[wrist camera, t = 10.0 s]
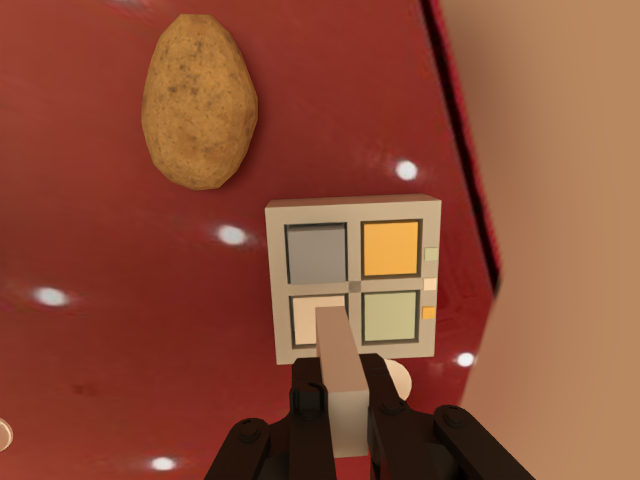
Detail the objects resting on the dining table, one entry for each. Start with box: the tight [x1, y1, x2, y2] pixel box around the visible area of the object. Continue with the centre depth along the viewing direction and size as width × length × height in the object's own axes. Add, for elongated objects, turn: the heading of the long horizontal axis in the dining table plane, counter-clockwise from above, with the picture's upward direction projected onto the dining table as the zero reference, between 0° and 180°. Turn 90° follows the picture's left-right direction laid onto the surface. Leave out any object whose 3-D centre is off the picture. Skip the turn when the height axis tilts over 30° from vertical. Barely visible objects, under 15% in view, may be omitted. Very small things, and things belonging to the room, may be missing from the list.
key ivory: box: [293, 293, 345, 344], centre depth 36 cm, size 5×5×3 cm
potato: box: [141, 14, 258, 191], centre depth 31 cm, size 10×14×8 cm
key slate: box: [288, 223, 346, 285], centre depth 33 cm, size 5×5×3 cm
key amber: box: [360, 219, 418, 276], centre depth 35 cm, size 5×5×3 cm
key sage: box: [361, 290, 416, 341], centre depth 36 cm, size 5×5×3 cm
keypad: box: [265, 193, 441, 365], centre depth 36 cm, size 16×16×6 cm
